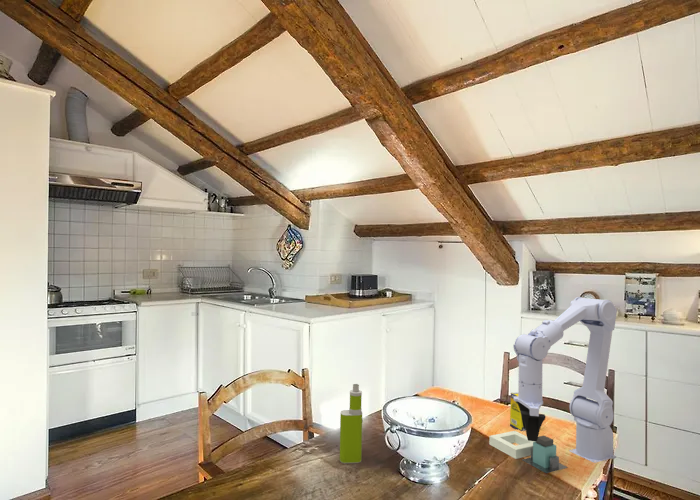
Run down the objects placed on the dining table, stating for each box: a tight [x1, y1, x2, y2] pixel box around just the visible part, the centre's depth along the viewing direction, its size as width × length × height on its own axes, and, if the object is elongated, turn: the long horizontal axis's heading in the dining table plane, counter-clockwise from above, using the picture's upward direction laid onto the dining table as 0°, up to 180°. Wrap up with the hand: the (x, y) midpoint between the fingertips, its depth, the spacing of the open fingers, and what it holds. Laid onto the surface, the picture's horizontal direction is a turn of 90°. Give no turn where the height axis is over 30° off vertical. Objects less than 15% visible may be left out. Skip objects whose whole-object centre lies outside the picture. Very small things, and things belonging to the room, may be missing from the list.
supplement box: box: [509, 392, 526, 432], centre depth 141 cm, size 6×6×11 cm
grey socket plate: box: [521, 447, 569, 474], centre depth 115 cm, size 8×8×4 cm
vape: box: [339, 383, 363, 464], centre depth 116 cm, size 4×6×20 cm, turn 98°
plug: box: [533, 435, 557, 468], centre depth 115 cm, size 4×4×7 cm
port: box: [488, 430, 535, 460], centre depth 124 cm, size 10×10×3 cm
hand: (529, 434), depth 112 cm, fingers open, 7 cm apart
